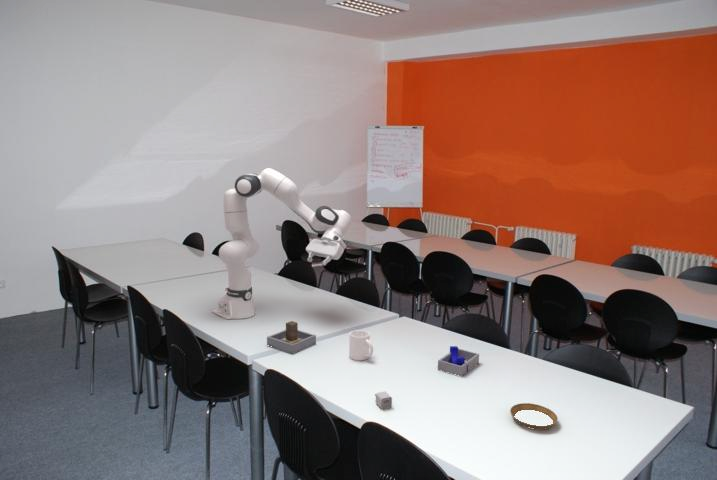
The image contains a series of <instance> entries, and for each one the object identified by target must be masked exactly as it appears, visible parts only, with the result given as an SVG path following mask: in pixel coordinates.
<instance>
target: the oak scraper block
mask: <svg viewBox="0 0 717 480" xmlns="http://www.w3.org/2000/svg"><path fill="white" fill-rule="evenodd" d="M298 325H299V324H298V322H295V321H293V320H291V321H288V322H287V321H286V323H285V330H286V338H284V339H282V341H285V342H288V343H291V344H294V343H296V342H298V341H301V339H299V338H298V330H299V329H298V328H299V327H298Z"/></svg>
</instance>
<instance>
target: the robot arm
mask: <svg viewBox="0 0 717 480" xmlns="http://www.w3.org/2000/svg"><path fill="white" fill-rule="evenodd" d="M262 191H266V192H267V193H269V194H270V195H272V196H273V197H274V198H276V199H277V200H279V201H280V202H282V203H283V204H284V205H285V206H286V207H288V208H289V209H290V210H291V211H292V212H293V213H295V215H297V216H298V217H300V218H301V219H302V220H303V221H305V222H306V223H307V224H308V226H309V227H310V229H311V230H312V231H313V232H314V233H316V234H319V235H321V234H322V236H321V237H315V238H313V239H312V240H311V241H310V242H309V243H308V244H307V246H306V247H305V251H306V252H307V253H308V258H307V262H309V263H312V261H313V260H314V259H313V257H315V256H317V257H322V258H325V259H323V260H322V261H321V265H322V266H326V265H327V264H328V263H329V262H331V260H334V261H335V260H336V261H337V260H339V259H340V258H341V257H342V256H343V253H344V251H345V249H346V248H347V244H346V243H345V242H344V240H343V237H344V236H345V234H347V232H348V230H349V228H350V226H351V224H352V222H353V220H352V216H351V214H350V213H349V212H347V211H346V210H343V209H335V208H331V207H330V206H327V205H321V206H319V207H318V208H316V209H315V211H314V210H312V209H311V208H310V207H309V206H307V205H306V204H305V203H304V202H303V201H302V200H301V198H300V195H299V189H298V187H297V185H296V183H294V182H293V180H292V179H290V178H289V177H287V176H285V175H284V174H282V173H281V172H280V171H278V170H275V169H273V168H271V167H266V168H265V169H263V170H262V171H261V172H260V173H259V174H256V173H245V174H242V175H240V176H238V177H237V178H236V179H235V182H234V188H230V189H228V190H226V191H225V192H224V194H223V215H224V223H225V229H226V230H227V231H228V232H229V233H230V234H231V237H232V240H231V241H227V242H226V243H224V244H222V245H221V246H220V248H219V249H218V257H219V259H220V261H222V263H224V264H225V267H226V270H227V274H228V287H226V288H225V289H224V291H226V293H225V294H224V295H223V296H222V297H221V298H220V299H218V301H217V307H215V308H214V309H212V313H213V314H215V315H218V316H219V317H220V318H221V317H222V318H223V319H225V320H234V319H235V320H238V319H239V320H241V319H248V318H251V317H253V316H254V315H255V314H256V313H255V311H256V308H255V305H254V298H253V287H252V271H251V270H249V268H248V267H247V262H246V260H248V259H251V258H253V257H254V256H255V255H256V254H258V252H259V250H260V244H259V242H258V240H257V239H256V238H255V237H254V235H253V234H252V232H251V227H250V224H249V218H248V208H247V200H248V198H252V197H254V196H256V195H259V194H260V193H261V192H262Z"/></svg>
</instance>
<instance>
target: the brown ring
mask: <svg viewBox="0 0 717 480" xmlns="http://www.w3.org/2000/svg"><path fill="white" fill-rule="evenodd" d="M509 410H510V411H509V413H510V414H511V416H512V418H513V419H514V420H515V421H516V422H517V423H518V424H519V423H520V424H519V425H521V424H522V425H524V426H526V427H525V428H527V427H530V428H534V429H533V430H536V429H543V430H546V429H545V428H547V429H549V428H551V427H552V426H555V424H556V423H557V422H558V416H557V414H556V413H555V412H554V411H553V410H551V409H550V408H548V407H546V406H543V405H539V404H535V403H527V402H526V403H525V402H523V403H517V404H514V405H513V406H512V407H510V409H509ZM521 410H535V411H539V412H542V413H544V414H546V415H548V416H549V417H550V418H551V419H552V420H553V424H551V425H547V426H536V425H530V424H527V423H524V422H521V421H519V420H518V419H516V418H515V417H514V416H515V414H516V413H517V412H518V411H521ZM522 425H521V426H522ZM524 426H523V427H524ZM530 428H529V429H530Z"/></svg>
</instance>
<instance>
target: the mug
mask: <svg viewBox="0 0 717 480" xmlns="http://www.w3.org/2000/svg"><path fill="white" fill-rule="evenodd" d="M370 337H371V335H370V332H368V331H366V330H363V329H356V330H352V331H350V332H349V348H348V349H349V352H348V353H349V354H348V355H349V358H350V359H351V360H354V361H357V362H358V361H359V362H360V361H365V360H367V359H369V358H371V357H372V356H373V354H374V346H373V343H372V342H371V341H370Z"/></svg>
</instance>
